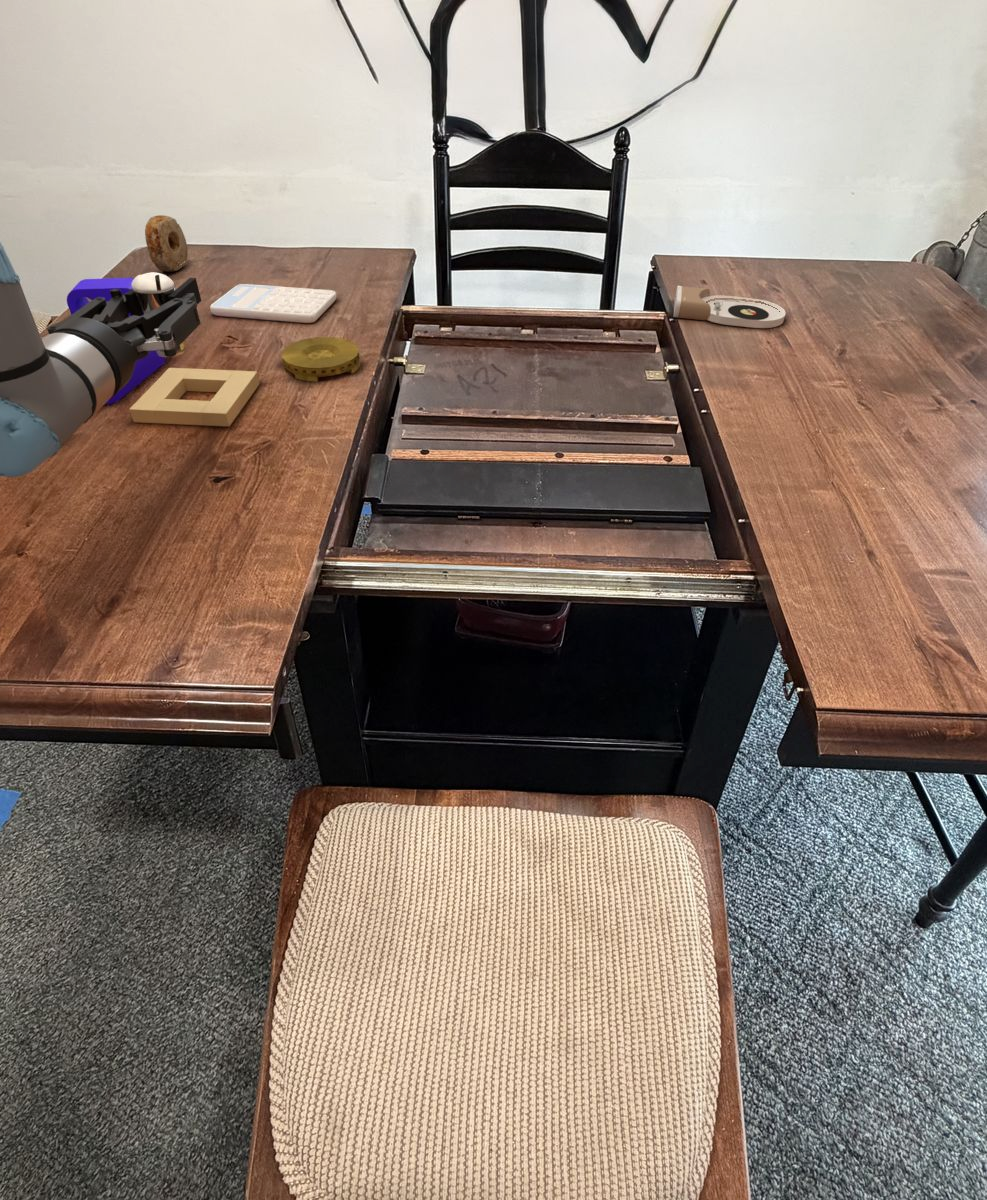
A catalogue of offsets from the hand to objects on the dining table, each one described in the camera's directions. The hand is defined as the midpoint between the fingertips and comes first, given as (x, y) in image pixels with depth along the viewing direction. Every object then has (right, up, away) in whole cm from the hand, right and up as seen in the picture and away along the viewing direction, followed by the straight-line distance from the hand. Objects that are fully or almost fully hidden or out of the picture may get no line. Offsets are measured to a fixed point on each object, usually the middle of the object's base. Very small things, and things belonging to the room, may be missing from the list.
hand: (175, 288), depth 87 cm
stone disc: (-27, +30, +60) cm, 72 cm away
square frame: (-4, -10, +16) cm, 19 cm away
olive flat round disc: (+12, -1, +26) cm, 29 cm away
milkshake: (0, -8, 0) cm, 8 cm away
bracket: (-18, -4, +22) cm, 29 cm away
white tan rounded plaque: (+83, +15, +45) cm, 96 cm away
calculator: (-1, +16, +45) cm, 48 cm away
